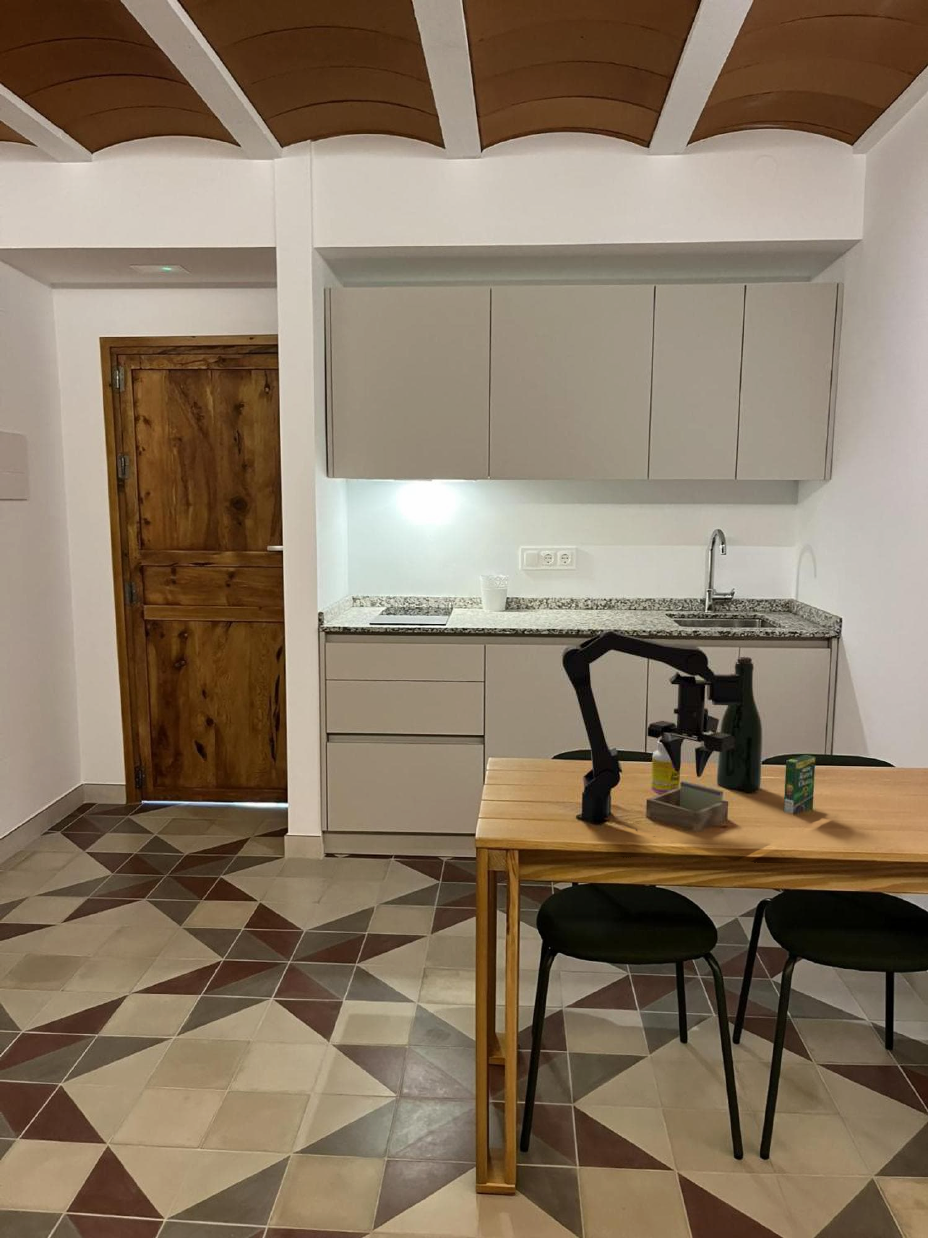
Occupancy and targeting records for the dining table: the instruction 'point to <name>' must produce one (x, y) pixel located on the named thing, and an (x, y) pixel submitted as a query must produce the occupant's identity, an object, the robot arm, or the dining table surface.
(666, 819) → the brown hollow box
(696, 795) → the green grey flat panel
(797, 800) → the coffee box
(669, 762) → the supplement bottle
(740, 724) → the green wine bottle
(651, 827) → the dining table surface
